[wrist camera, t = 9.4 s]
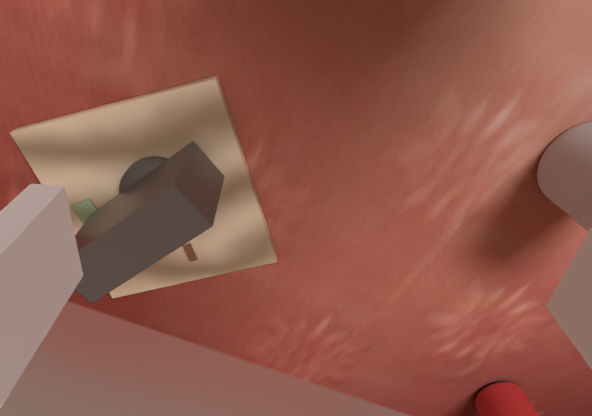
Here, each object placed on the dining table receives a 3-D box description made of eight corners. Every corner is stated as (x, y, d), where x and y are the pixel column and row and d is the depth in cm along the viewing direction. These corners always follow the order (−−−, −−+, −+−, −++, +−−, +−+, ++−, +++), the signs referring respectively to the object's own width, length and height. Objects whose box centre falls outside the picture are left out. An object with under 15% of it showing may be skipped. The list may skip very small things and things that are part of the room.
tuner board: (17, 127, 36) (8, 133, 35) (217, 75, 35) (215, 79, 33) (116, 290, 45) (112, 299, 44) (276, 254, 44) (276, 263, 43)
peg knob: (186, 124, 35) (160, 171, 27) (234, 180, 38) (223, 237, 30) (63, 214, 39) (8, 279, 31) (115, 259, 42) (77, 329, 34)
